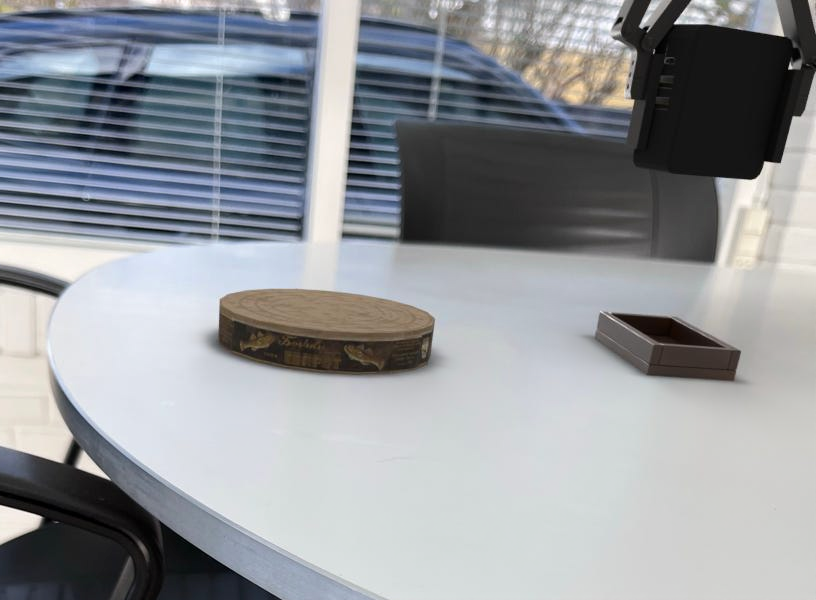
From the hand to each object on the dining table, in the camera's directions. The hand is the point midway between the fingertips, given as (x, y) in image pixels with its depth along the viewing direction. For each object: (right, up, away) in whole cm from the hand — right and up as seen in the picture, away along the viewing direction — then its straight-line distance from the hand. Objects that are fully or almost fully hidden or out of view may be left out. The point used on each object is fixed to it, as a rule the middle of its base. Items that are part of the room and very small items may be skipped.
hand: (702, 155), depth 84 cm
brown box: (-3, -16, +3) cm, 16 cm away
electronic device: (0, -1, +1) cm, 2 cm away
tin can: (-30, -17, -5) cm, 35 cm away
